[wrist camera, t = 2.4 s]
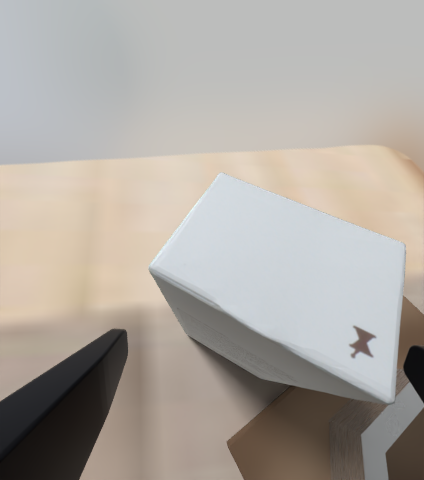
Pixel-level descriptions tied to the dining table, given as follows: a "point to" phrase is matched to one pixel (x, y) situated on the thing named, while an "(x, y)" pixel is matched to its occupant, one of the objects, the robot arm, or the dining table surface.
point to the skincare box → (287, 291)
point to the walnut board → (322, 429)
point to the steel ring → (370, 433)
